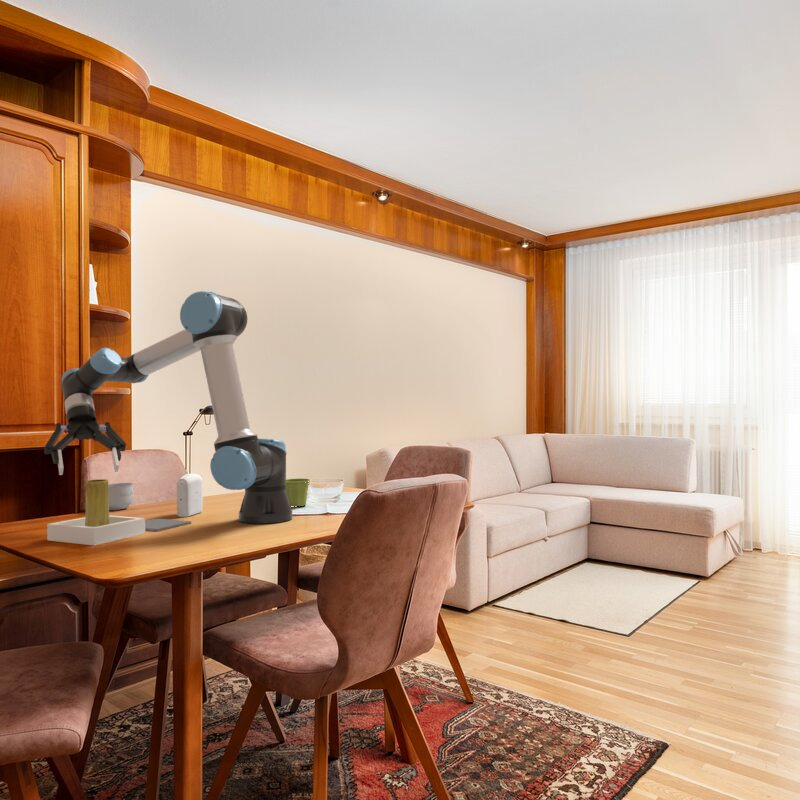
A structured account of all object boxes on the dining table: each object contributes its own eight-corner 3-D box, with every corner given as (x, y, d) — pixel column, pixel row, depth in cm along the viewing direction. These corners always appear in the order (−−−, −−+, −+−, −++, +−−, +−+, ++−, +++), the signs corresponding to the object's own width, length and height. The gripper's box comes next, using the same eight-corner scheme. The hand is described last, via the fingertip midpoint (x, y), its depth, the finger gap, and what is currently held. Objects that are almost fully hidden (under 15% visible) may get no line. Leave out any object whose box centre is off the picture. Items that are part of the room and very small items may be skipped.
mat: (191, 523, 191) (191, 521, 191) (156, 531, 179) (156, 529, 179) (155, 520, 196) (155, 518, 196) (120, 528, 185) (120, 525, 185)
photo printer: (188, 517, 202) (187, 475, 202) (174, 517, 203) (174, 475, 203) (204, 512, 212) (204, 472, 212) (192, 511, 213) (192, 472, 213)
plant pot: (277, 508, 218) (277, 481, 218) (287, 504, 228) (287, 478, 228) (305, 509, 217) (305, 481, 217) (314, 504, 226) (314, 478, 226)
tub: (145, 533, 176) (145, 518, 176) (94, 545, 162) (94, 528, 162) (100, 529, 183) (100, 514, 183) (47, 540, 168) (47, 524, 168)
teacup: (124, 511, 214) (124, 486, 214) (90, 511, 214) (90, 486, 214) (142, 505, 228) (142, 481, 228) (110, 505, 228) (110, 481, 228)
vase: (78, 538, 171) (78, 481, 171) (97, 534, 176) (96, 478, 176) (97, 540, 168) (97, 482, 169) (115, 535, 174) (115, 479, 174)
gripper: (125, 421, 203) (136, 476, 190) (30, 423, 189) (35, 482, 177) (129, 403, 199) (141, 458, 186) (31, 404, 185) (37, 463, 172)
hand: (89, 470), depth 181 cm, fingers open, 13 cm apart
